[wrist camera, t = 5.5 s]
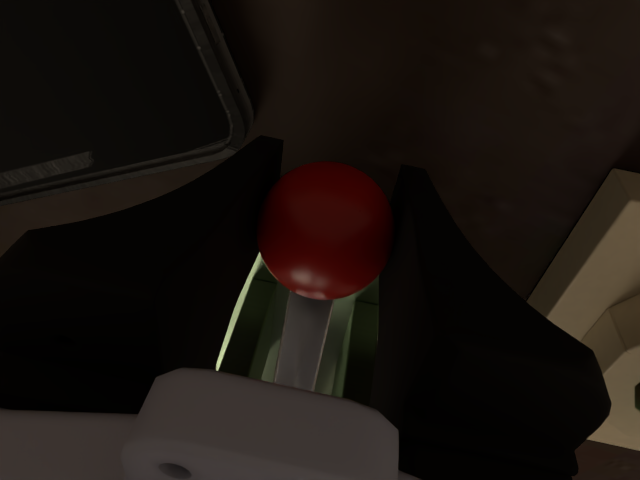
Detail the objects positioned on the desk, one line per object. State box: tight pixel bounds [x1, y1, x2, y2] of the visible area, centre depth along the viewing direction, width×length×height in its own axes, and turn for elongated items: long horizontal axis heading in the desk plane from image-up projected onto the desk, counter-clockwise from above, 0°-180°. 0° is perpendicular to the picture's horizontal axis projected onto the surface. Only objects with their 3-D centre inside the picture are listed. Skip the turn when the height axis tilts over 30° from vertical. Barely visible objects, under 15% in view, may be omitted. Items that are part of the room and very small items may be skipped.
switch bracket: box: [215, 252, 379, 407], centre depth 17 cm, size 10×8×10 cm
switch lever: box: [256, 161, 395, 392], centre depth 13 cm, size 12×3×3 cm, turn 172°
